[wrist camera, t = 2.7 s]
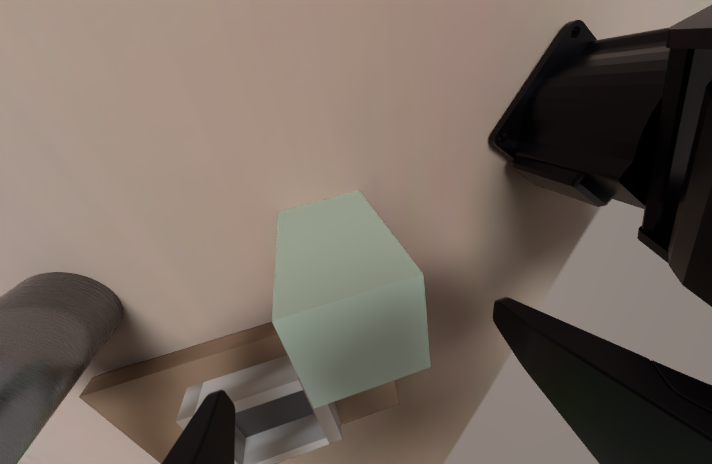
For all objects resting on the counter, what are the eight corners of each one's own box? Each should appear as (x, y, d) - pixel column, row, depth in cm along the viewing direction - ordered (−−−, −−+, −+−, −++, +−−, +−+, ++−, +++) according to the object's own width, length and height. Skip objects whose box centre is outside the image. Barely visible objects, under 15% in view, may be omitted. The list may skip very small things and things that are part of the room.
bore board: (374, 290, 18) (390, 325, 15) (394, 390, 24) (408, 428, 21) (92, 377, 16) (52, 436, 13) (188, 463, 22) (174, 516, 19)
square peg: (358, 190, 15) (423, 274, 8) (371, 256, 17) (430, 367, 10) (278, 211, 14) (271, 321, 7) (302, 276, 16) (313, 408, 10)
